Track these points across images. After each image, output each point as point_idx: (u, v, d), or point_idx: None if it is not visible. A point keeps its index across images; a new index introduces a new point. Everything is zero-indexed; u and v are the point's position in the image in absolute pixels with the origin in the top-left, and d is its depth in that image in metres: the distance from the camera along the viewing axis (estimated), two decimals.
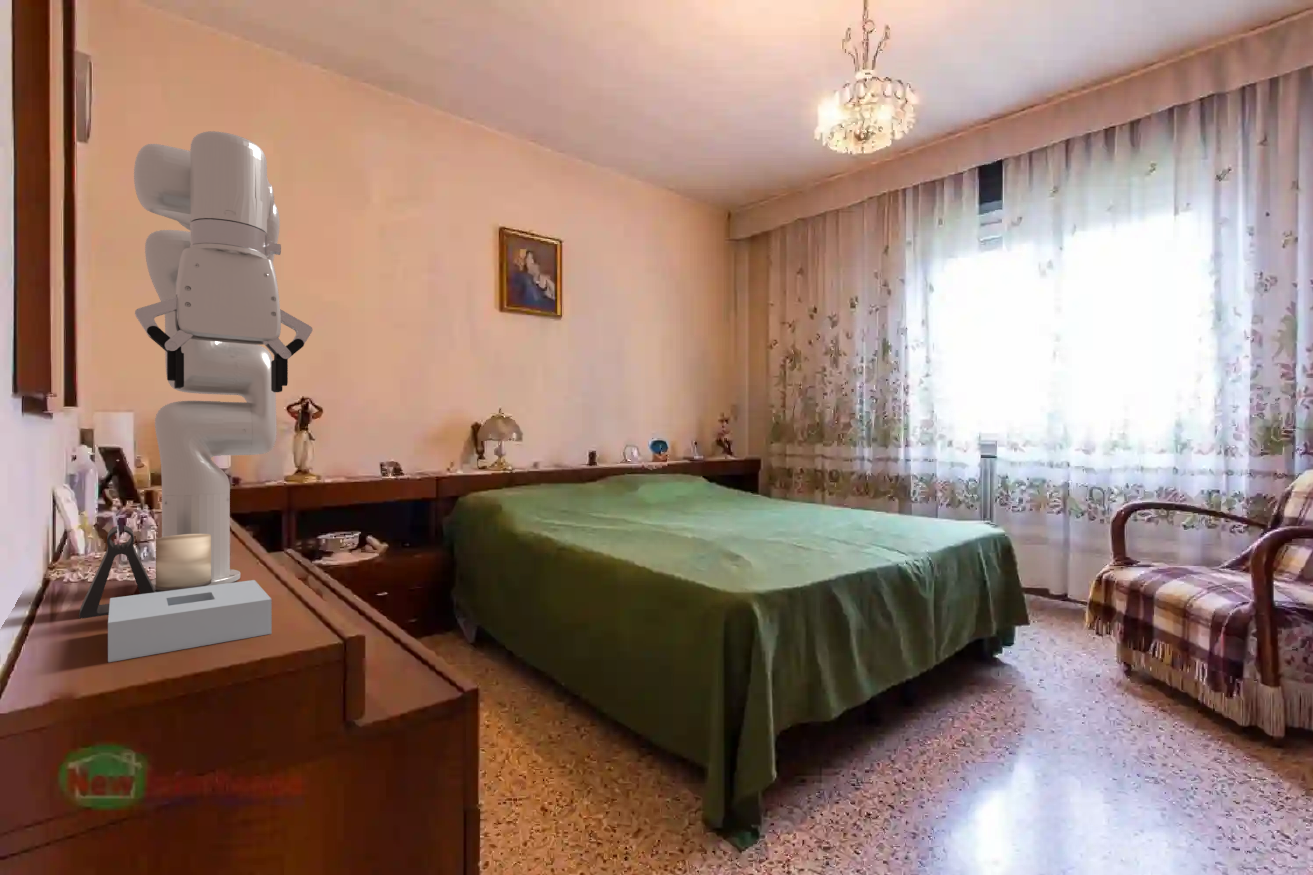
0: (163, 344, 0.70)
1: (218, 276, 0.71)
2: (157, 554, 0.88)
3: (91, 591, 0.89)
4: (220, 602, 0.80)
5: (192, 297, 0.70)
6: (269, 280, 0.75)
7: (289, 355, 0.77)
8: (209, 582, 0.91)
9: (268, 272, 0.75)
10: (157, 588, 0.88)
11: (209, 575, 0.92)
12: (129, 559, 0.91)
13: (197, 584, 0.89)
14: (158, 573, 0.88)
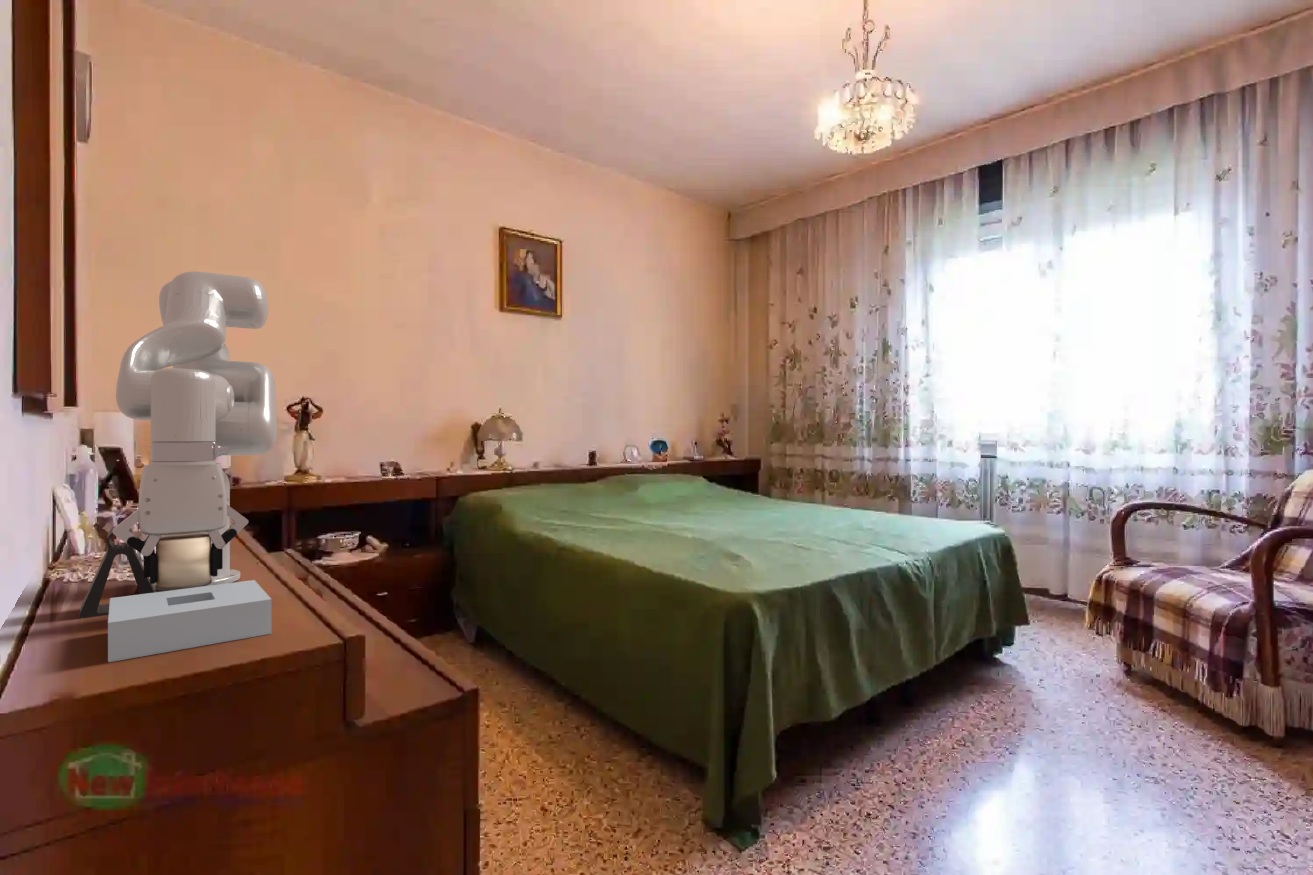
0: (140, 550, 0.87)
1: (173, 486, 0.88)
2: (157, 554, 0.88)
3: (91, 591, 0.89)
4: (220, 602, 0.80)
5: (151, 506, 0.87)
6: (216, 481, 0.91)
7: (223, 545, 0.93)
8: (209, 582, 0.91)
9: (215, 475, 0.91)
10: (157, 588, 0.88)
11: (209, 575, 0.92)
12: (129, 559, 0.91)
13: (197, 584, 0.89)
14: (158, 573, 0.88)
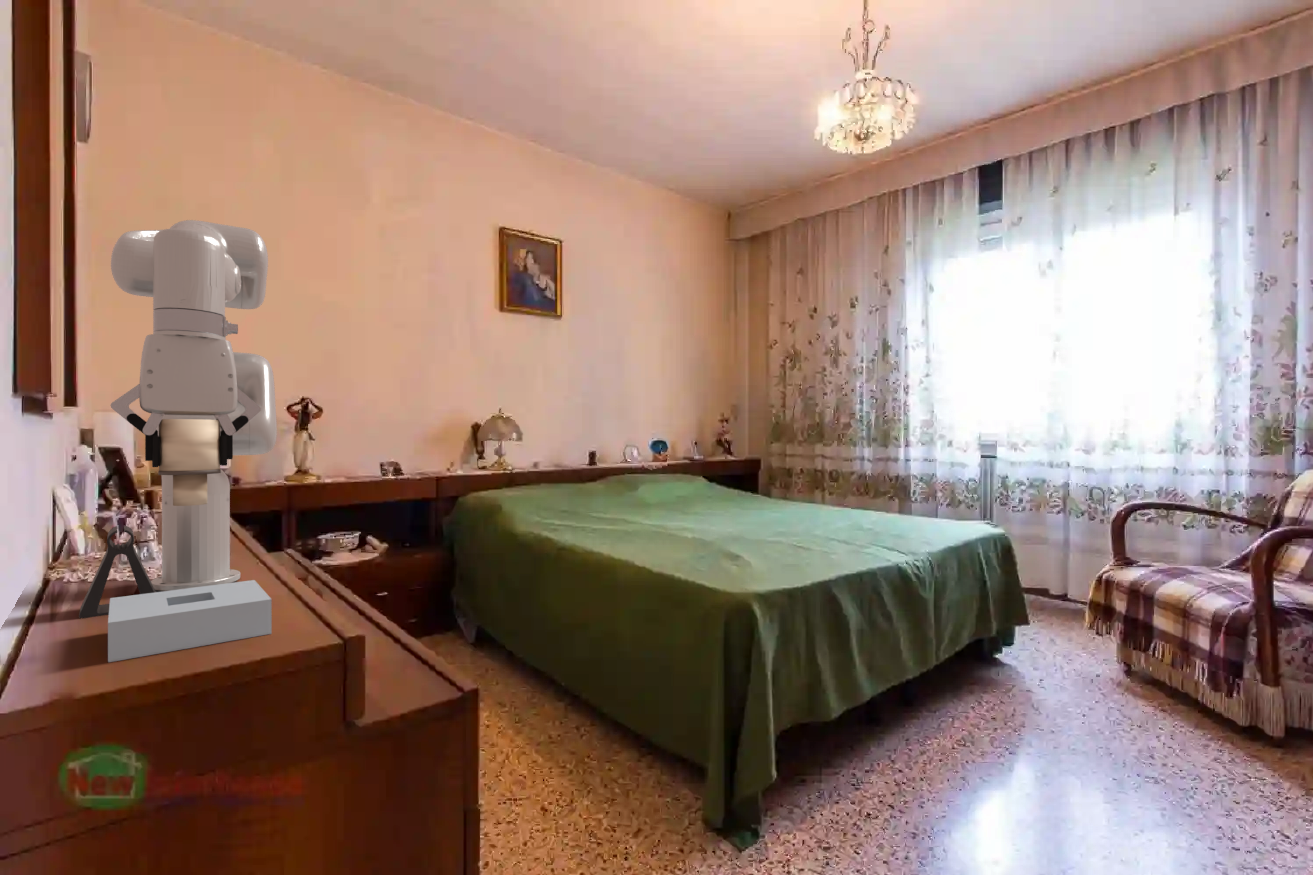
0: (141, 429, 0.78)
1: (178, 358, 0.79)
2: (160, 435, 0.79)
3: (91, 591, 0.89)
4: (220, 602, 0.80)
5: (154, 379, 0.78)
6: (226, 359, 0.82)
7: (234, 431, 0.84)
8: (218, 471, 0.82)
9: (225, 352, 0.82)
10: (160, 472, 0.79)
11: (218, 463, 0.82)
12: (129, 559, 0.91)
13: (205, 470, 0.80)
14: (162, 456, 0.79)
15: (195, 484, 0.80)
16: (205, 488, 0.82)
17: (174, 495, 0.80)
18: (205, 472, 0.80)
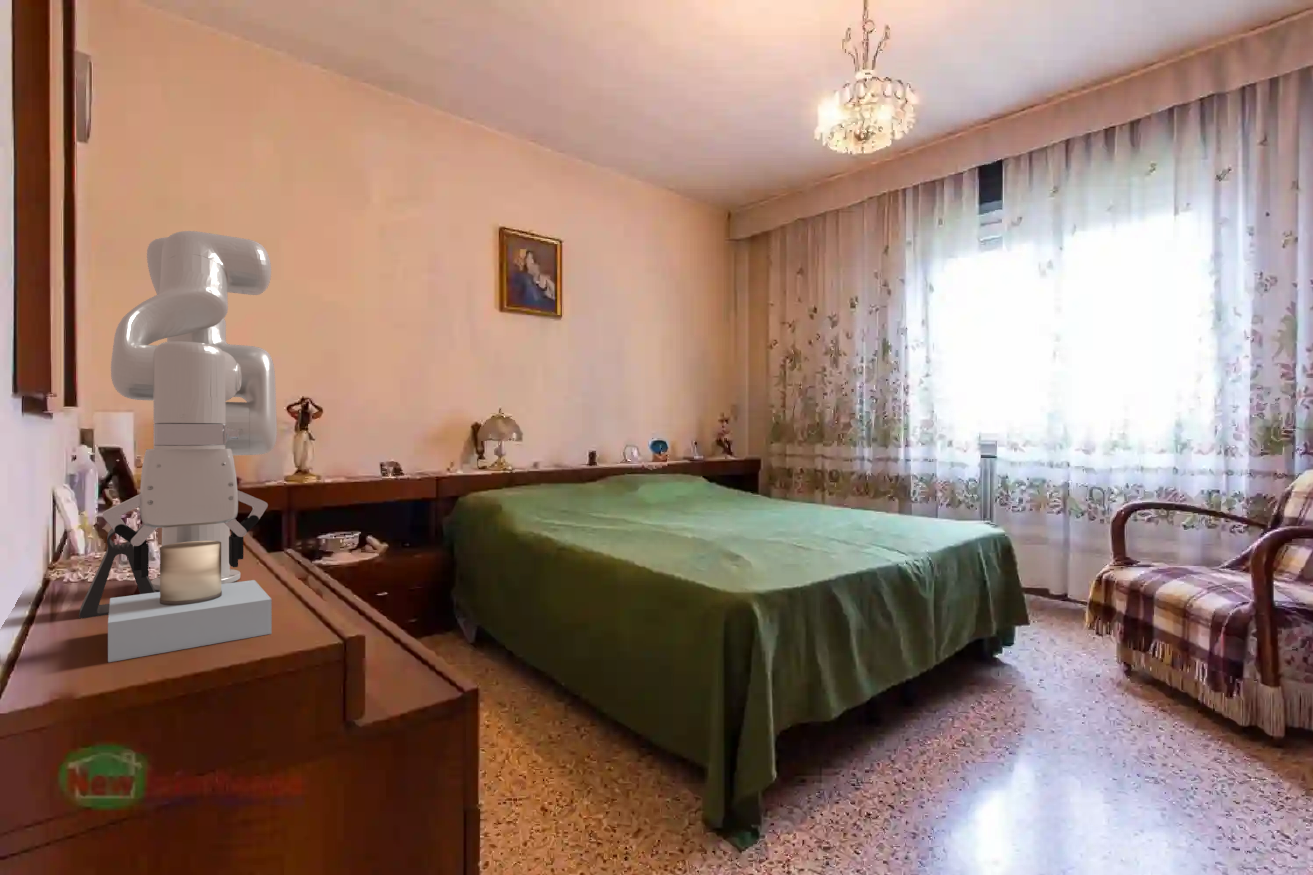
0: (129, 540, 0.77)
1: (179, 472, 0.79)
2: (162, 564, 0.79)
3: (91, 591, 0.89)
4: (220, 602, 0.80)
5: (154, 495, 0.77)
6: (226, 468, 0.82)
7: (244, 532, 0.84)
8: (219, 595, 0.82)
9: (226, 461, 0.82)
10: (162, 602, 0.79)
11: (219, 587, 0.83)
12: (129, 559, 0.91)
13: (206, 597, 0.80)
14: (163, 585, 0.79)
15: None
16: None
17: None
18: (206, 599, 0.80)
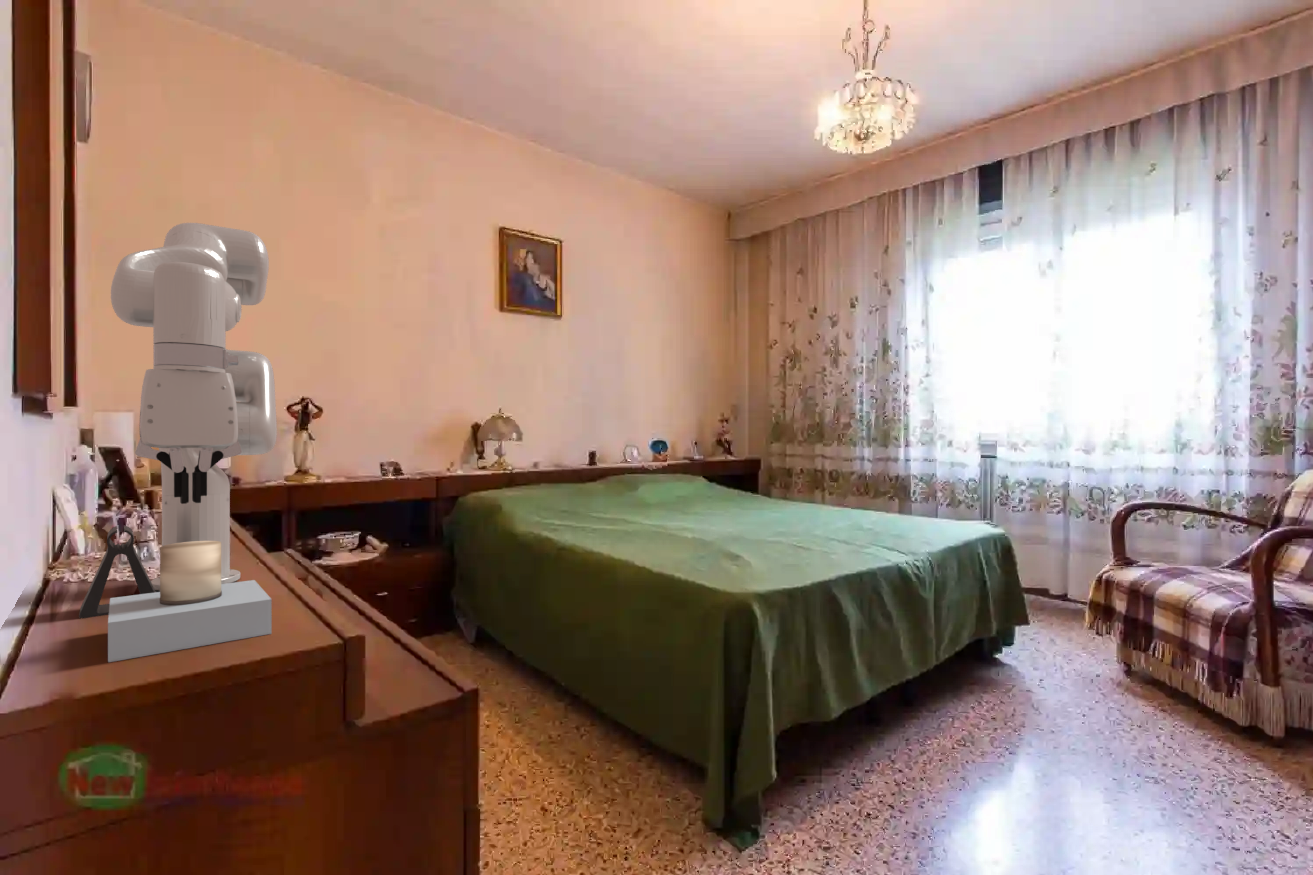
0: (170, 467, 0.80)
1: (178, 393, 0.79)
2: (162, 564, 0.79)
3: (91, 591, 0.89)
4: (220, 602, 0.80)
5: (154, 414, 0.77)
6: (226, 392, 0.82)
7: (208, 468, 0.82)
8: (219, 595, 0.82)
9: (225, 384, 0.82)
10: (162, 602, 0.79)
11: (219, 587, 0.83)
12: (129, 559, 0.91)
13: (206, 597, 0.80)
14: (163, 585, 0.79)
15: None
16: None
17: None
18: (206, 599, 0.80)
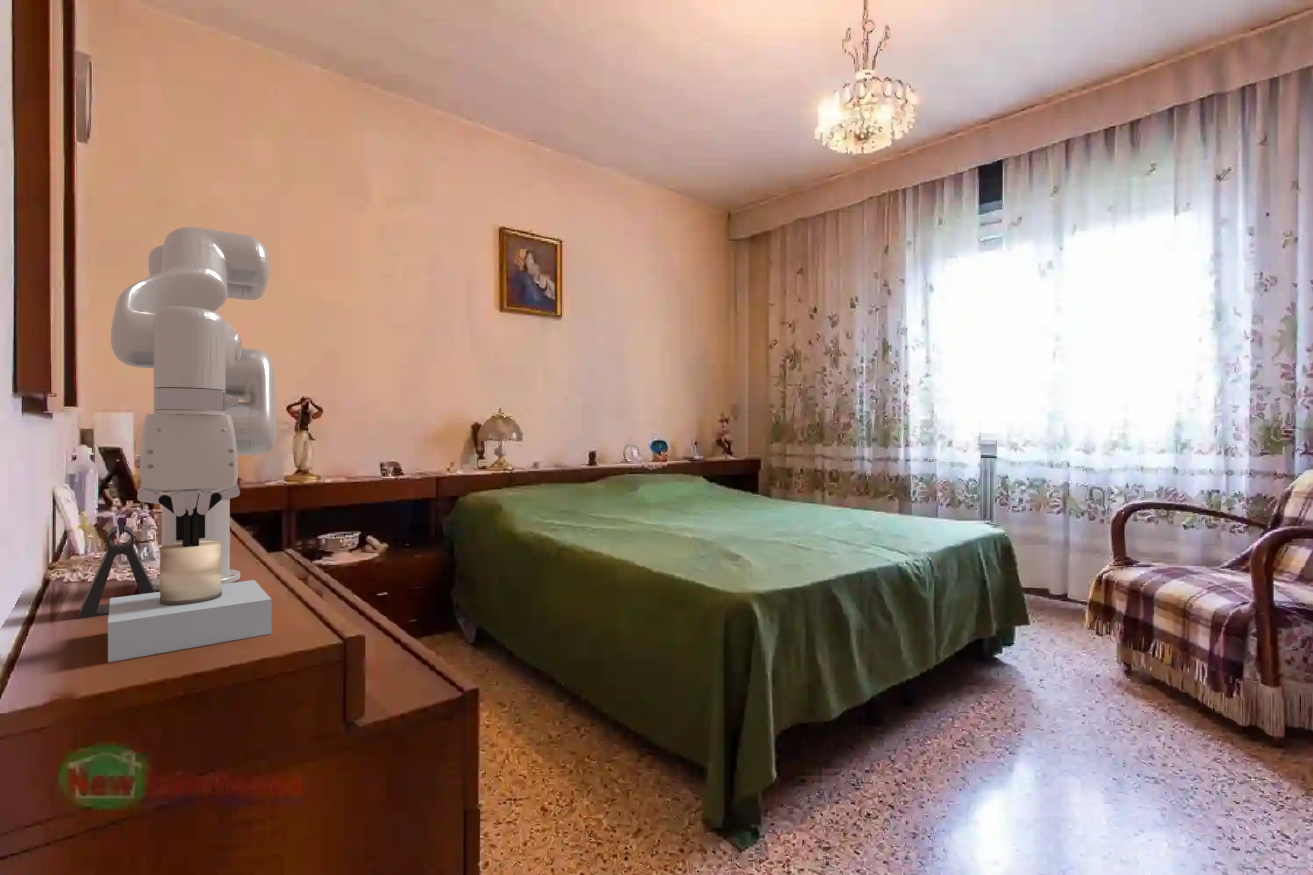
0: (172, 510, 0.80)
1: (179, 437, 0.79)
2: (162, 564, 0.79)
3: (91, 591, 0.89)
4: (220, 602, 0.80)
5: (154, 459, 0.77)
6: (226, 434, 0.82)
7: (206, 510, 0.82)
8: (219, 595, 0.82)
9: (226, 427, 0.82)
10: (162, 602, 0.79)
11: (219, 587, 0.83)
12: (129, 559, 0.91)
13: (206, 597, 0.80)
14: (163, 585, 0.79)
15: None
16: None
17: None
18: (206, 599, 0.80)
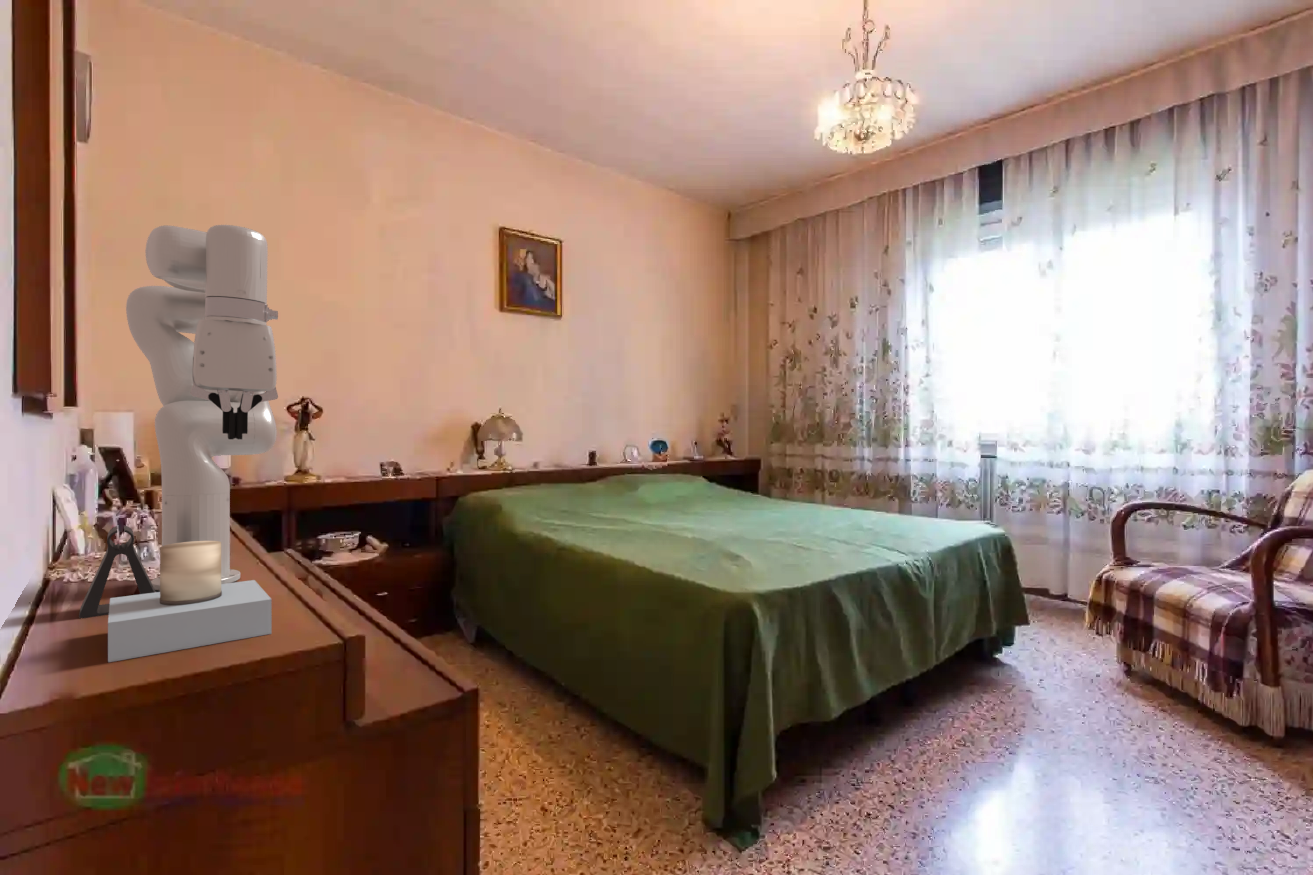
0: (220, 406, 0.91)
1: (226, 341, 0.89)
2: (162, 564, 0.79)
3: (91, 591, 0.89)
4: (220, 602, 0.80)
5: (205, 359, 0.88)
6: (267, 342, 0.93)
7: (249, 409, 0.92)
8: (219, 595, 0.82)
9: (266, 336, 0.93)
10: (162, 602, 0.79)
11: (219, 587, 0.83)
12: (129, 559, 0.91)
13: (206, 597, 0.80)
14: (163, 585, 0.79)
15: None
16: None
17: None
18: (206, 599, 0.80)
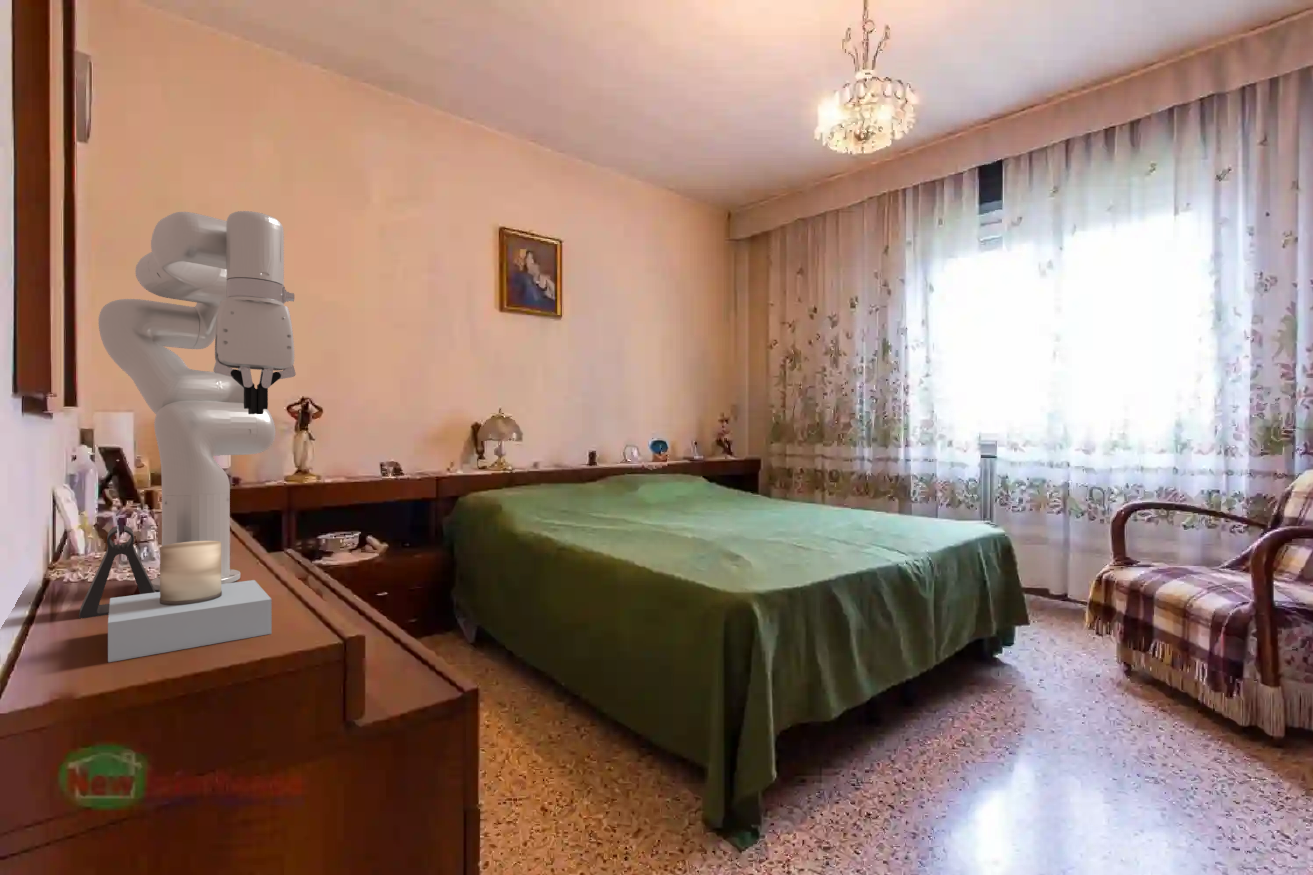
0: (242, 382, 0.95)
1: (248, 320, 0.94)
2: (162, 564, 0.79)
3: (91, 591, 0.89)
4: (220, 602, 0.80)
5: (228, 337, 0.93)
6: (285, 322, 0.98)
7: (269, 385, 0.97)
8: (219, 595, 0.82)
9: (285, 316, 0.98)
10: (162, 602, 0.79)
11: (219, 587, 0.83)
12: (129, 559, 0.91)
13: (206, 597, 0.80)
14: (163, 585, 0.79)
15: None
16: None
17: None
18: (206, 599, 0.80)
